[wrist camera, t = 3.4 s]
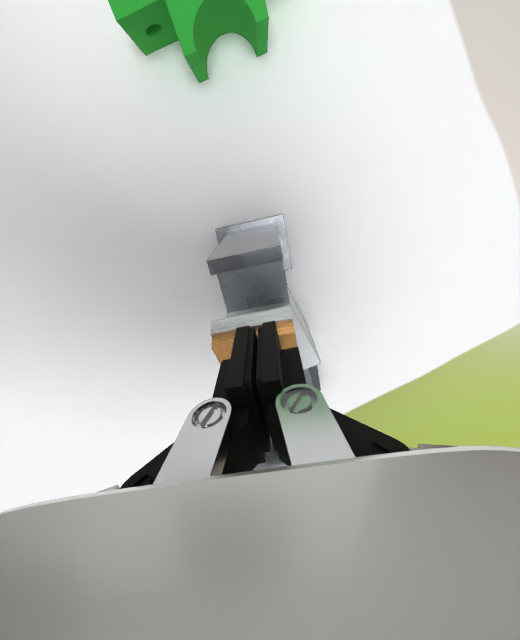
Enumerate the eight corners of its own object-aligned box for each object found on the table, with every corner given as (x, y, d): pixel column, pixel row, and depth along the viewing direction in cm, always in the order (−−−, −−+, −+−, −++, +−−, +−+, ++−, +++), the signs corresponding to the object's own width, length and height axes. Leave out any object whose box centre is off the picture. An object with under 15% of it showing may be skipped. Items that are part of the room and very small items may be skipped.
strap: (203, 316, 13) (200, 346, 11) (297, 298, 12) (304, 327, 11) (260, 429, 22) (262, 452, 21) (313, 421, 22) (318, 444, 21)
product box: (256, 347, 30) (255, 392, 23) (228, 301, 27) (217, 337, 21) (308, 323, 28) (322, 364, 22) (282, 273, 26) (290, 302, 19)
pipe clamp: (164, 100, 20) (139, 78, 16) (139, 37, 19) (104, -6, 15) (308, 35, 19) (321, -9, 15) (293, -41, 17) (303, -114, 13)
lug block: (216, 229, 24) (185, 255, 14) (282, 213, 24) (298, 230, 14) (230, 279, 26) (211, 333, 16) (291, 266, 26) (310, 315, 16)
